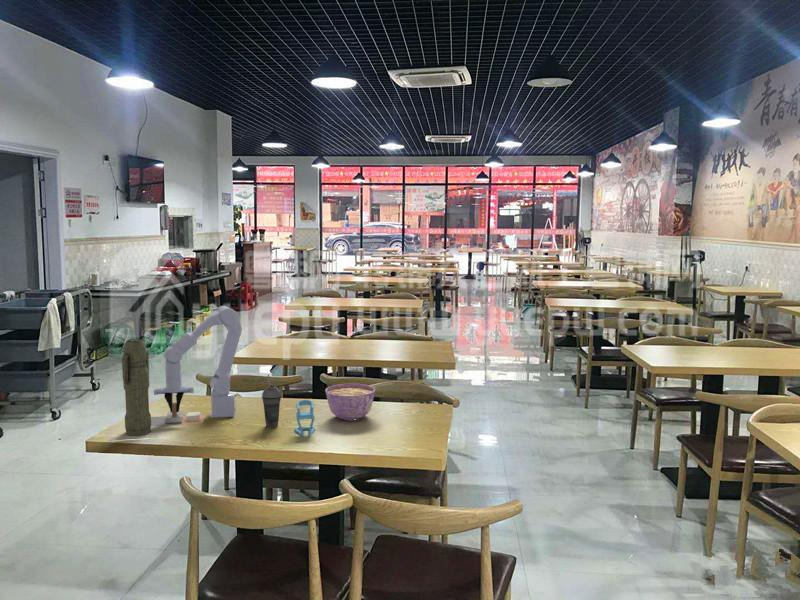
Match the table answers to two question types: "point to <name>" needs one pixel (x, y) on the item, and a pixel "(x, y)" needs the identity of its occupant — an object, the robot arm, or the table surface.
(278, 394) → the beverage cup
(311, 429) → the chair
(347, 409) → the bowl of food
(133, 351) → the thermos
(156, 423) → the mat
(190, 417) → the block
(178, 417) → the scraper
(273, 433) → the table surface
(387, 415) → the table surface
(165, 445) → the table surface
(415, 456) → the table surface
